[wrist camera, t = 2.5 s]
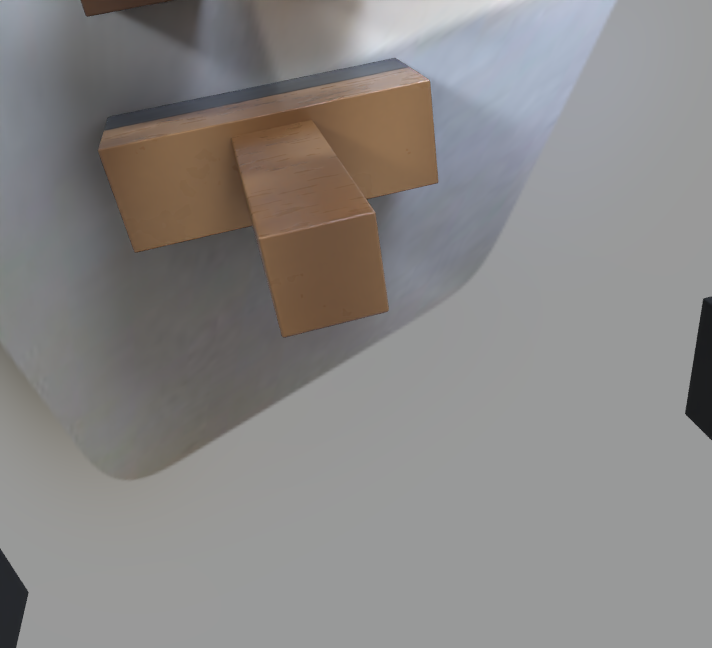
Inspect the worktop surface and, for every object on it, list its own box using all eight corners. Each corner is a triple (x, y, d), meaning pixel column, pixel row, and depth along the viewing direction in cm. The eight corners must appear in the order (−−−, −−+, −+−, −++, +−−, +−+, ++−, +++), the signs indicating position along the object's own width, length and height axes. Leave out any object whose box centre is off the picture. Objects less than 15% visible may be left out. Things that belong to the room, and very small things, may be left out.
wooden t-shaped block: (138, 209, 29) (120, 396, 18) (107, 117, 27) (62, 263, 16) (405, 150, 30) (543, 288, 19) (395, 57, 28) (544, 153, 17)
